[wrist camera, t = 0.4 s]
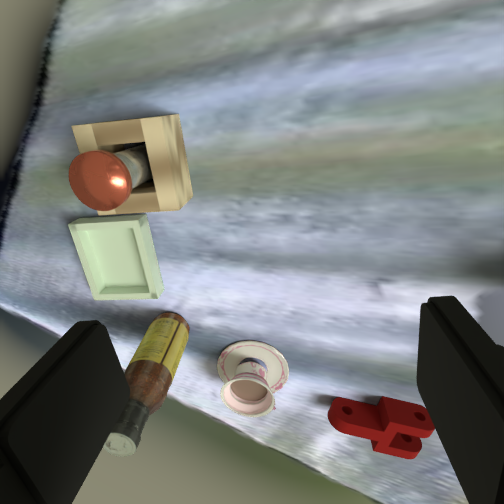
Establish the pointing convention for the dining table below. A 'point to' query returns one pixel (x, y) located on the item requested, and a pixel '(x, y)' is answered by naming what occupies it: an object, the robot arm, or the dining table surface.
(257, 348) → the teacup
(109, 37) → the dining table surface
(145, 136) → the socket block
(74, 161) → the pin
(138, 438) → the sauce bottle
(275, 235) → the dining table surface
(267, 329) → the dining table surface
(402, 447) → the mechanical linkage
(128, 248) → the tray
